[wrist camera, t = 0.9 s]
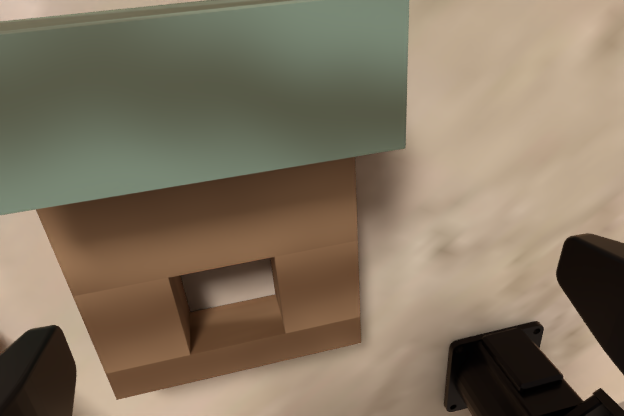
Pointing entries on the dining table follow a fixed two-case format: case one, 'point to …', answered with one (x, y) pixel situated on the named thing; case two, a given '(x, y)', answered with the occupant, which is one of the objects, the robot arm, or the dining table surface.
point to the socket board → (205, 239)
